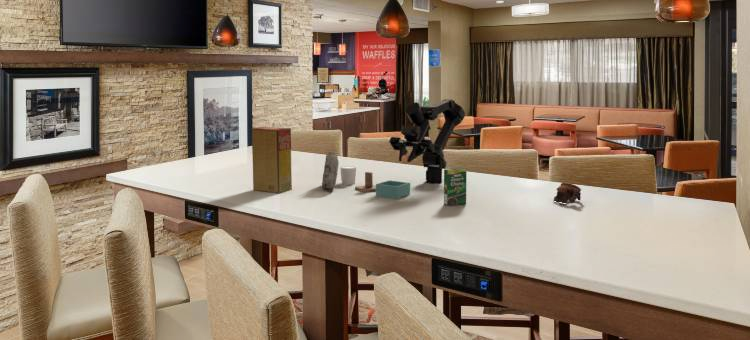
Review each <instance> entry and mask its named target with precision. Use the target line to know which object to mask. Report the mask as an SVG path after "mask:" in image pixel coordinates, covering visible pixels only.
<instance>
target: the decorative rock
mask: <svg viewBox="0 0 750 340" xmlns="http://www.w3.org/2000/svg"><path fill="white" fill-rule="evenodd" d="M323 168H324V169H323V174H322V182H321V187H322V189H323V190H333V189H335V186H336V185H337V177H338V171H339V170H338V169H339V157H338V154H337V153H335V152H333V151H327V152H326V156H325V161H324V167H323Z"/></svg>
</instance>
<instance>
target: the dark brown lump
mask: <svg viewBox="0 0 750 340" xmlns="http://www.w3.org/2000/svg"><path fill="white" fill-rule="evenodd" d="M581 191H582V189H581V187H579V186H577V185H575V184H573V183H570V182H561V183H560V185H559V186H558V187H557V188H556V195H555V196H554V197H553V202H554V201H556V202H555V203H558V202H562V203H568V202H569V203H570V204H574V203H576V201H577V199H578V200H580V201H581V198H582V197H581V194H582V193H581Z"/></svg>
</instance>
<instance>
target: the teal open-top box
mask: <svg viewBox="0 0 750 340" xmlns="http://www.w3.org/2000/svg"><path fill="white" fill-rule="evenodd" d="M375 186H376V191H375V196H377V197H384V198H388V199H389V198H390V199H397V200H398V199H400V198H403V197H407V196H409V195H411V182H406V181H399V180H390V179H389V180H386V181H382V182H378V183H375Z"/></svg>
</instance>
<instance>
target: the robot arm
mask: <svg viewBox="0 0 750 340" xmlns="http://www.w3.org/2000/svg"><path fill="white" fill-rule="evenodd" d="M405 113H406V115H407V117H408V119H409V121H410V122H411V123H412V124H413V125H402V127H401V131H400V134H401V135H403V136H404V137H403V138H404V139H402V138H401V137H400V136H391V137H390V139H389V140H388V142H389V144H390V146H391V147H392V149H393V150H395V151H398V152H399V155H398V162H399V163H402V161H401V158H402V156H403V155H408V153H409V152H408V150H407V148H412V150H411V152H410V154H409V155H408V156H409V158H408V160H407V161H408V162H409V163H411V162H412V161H413V160H415V159H416V158H418V157H419V156H421V155H422V156H421V157H422V158H421V159H422V164H423V168H426V170H425V181H426V183H432V184H433V183H437V184H442V183H443V170H444V169H447V161H446V159H445V154H444V153H445V152H444V149H445V147H446V146H447V144H448V141H449V139H450V138H451V136H452V133H453V131H454V129H455V127H457V126H459V125H460V124H461V123H462V122H463V120H464V118H465V116H466V112H465V110H464V109H463V107H462V106H461V105H459V104H458V103H456V101H455V100H454V99H446V98H444V99H442V100H441V101H439V102H436V103H434V104H431V105H420V103H419V102H413V103H412V104H409V106H408V107H406V109H405ZM440 114H443V117H444V123H443V124H442V127H441V129H440V131H439V132H438V135H437V137H436V138H435V140H434V142H433V141H432V139H427V138H426V137H425V135H426V133H427V131H430V130H431V125H430V122H429V121H435V120H436V119H438V117H439V115H440Z"/></svg>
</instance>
